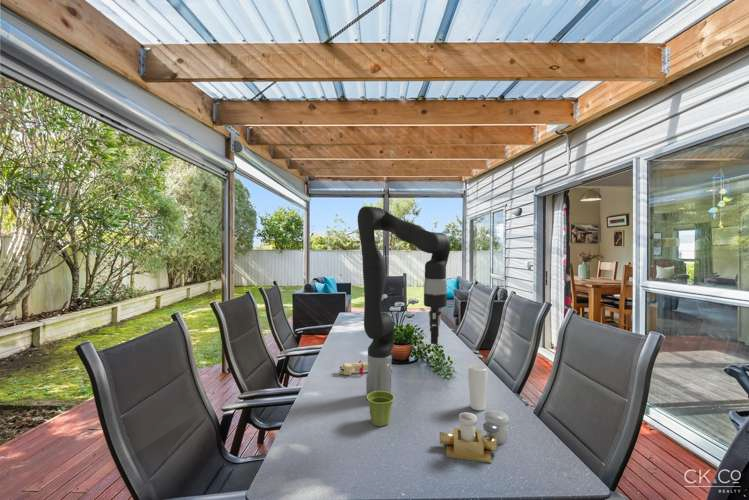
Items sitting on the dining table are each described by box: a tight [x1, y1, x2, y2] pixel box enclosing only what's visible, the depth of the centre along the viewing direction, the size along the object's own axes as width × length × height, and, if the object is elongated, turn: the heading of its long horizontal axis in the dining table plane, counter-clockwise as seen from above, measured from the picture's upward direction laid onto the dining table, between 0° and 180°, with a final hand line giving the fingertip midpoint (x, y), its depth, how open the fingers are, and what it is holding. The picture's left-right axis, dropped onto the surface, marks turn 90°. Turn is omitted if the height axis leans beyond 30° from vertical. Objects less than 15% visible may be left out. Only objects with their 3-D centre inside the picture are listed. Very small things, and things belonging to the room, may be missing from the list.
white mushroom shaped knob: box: [458, 411, 478, 442], centre depth 98 cm, size 5×5×9 cm
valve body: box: [439, 422, 499, 464], centre depth 99 cm, size 17×10×8 cm, turn 78°
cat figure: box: [338, 359, 393, 377], centre depth 161 cm, size 10×9×25 cm
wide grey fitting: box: [483, 410, 510, 445], centre depth 105 cm, size 7×7×7 cm
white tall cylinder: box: [467, 363, 488, 411], centre depth 125 cm, size 7×7×15 cm
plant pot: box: [366, 391, 395, 427], centre depth 115 cm, size 9×9×9 cm
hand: (434, 340), depth 114 cm, fingers open, 8 cm apart
